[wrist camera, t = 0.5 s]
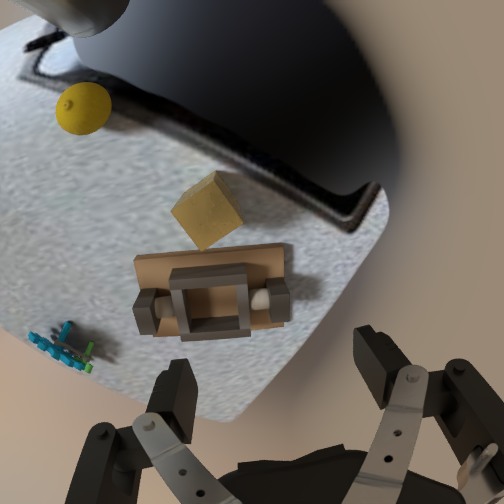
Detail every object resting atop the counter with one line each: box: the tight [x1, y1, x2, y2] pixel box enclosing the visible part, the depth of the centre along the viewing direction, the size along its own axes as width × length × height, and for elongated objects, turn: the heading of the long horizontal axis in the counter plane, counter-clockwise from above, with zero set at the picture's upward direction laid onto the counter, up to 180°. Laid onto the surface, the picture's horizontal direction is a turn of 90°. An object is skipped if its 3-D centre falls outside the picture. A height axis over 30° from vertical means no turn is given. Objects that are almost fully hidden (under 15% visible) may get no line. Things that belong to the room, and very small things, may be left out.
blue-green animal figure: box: [28, 321, 94, 374], centre depth 33 cm, size 11×6×10 cm
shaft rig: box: [132, 243, 290, 342], centre depth 32 cm, size 11×17×6 cm, turn 93°
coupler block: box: [171, 170, 244, 252], centre depth 27 cm, size 4×4×9 cm
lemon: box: [56, 82, 112, 135], centre depth 22 cm, size 6×6×8 cm
